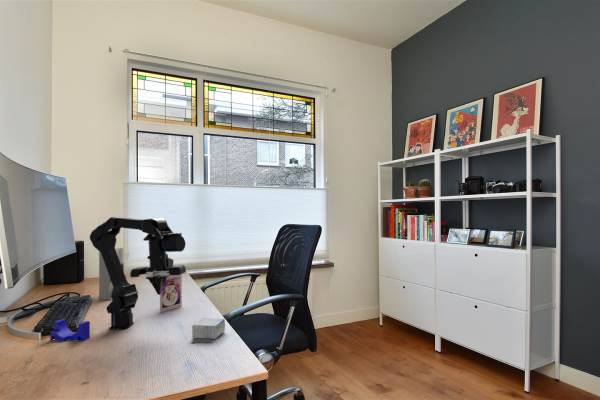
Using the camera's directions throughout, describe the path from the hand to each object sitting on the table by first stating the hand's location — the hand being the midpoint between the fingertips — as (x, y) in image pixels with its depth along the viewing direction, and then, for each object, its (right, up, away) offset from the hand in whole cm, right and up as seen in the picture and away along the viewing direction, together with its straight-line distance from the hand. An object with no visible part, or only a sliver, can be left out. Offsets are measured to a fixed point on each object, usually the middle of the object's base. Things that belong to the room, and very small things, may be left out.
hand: (159, 294), depth 124 cm
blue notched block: (-28, -14, -8) cm, 32 cm away
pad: (+19, -12, -7) cm, 24 cm away
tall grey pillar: (-46, -16, +52) cm, 71 cm away
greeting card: (-8, -14, +28) cm, 32 cm away
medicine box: (+16, -10, -6) cm, 20 cm away
